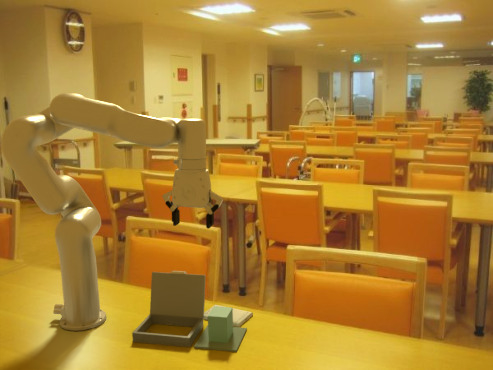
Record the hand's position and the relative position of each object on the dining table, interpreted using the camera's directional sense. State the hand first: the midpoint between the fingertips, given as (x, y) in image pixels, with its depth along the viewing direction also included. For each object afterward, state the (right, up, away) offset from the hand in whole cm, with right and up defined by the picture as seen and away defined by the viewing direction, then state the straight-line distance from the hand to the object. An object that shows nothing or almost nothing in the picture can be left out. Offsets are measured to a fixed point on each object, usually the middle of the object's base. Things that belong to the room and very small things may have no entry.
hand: (192, 225), depth 141 cm
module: (+8, -28, -8) cm, 30 cm away
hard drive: (+9, -27, +5) cm, 29 cm away
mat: (+8, -29, -8) cm, 31 cm away
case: (-6, -29, -4) cm, 29 cm away
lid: (-5, -19, +1) cm, 19 cm away
